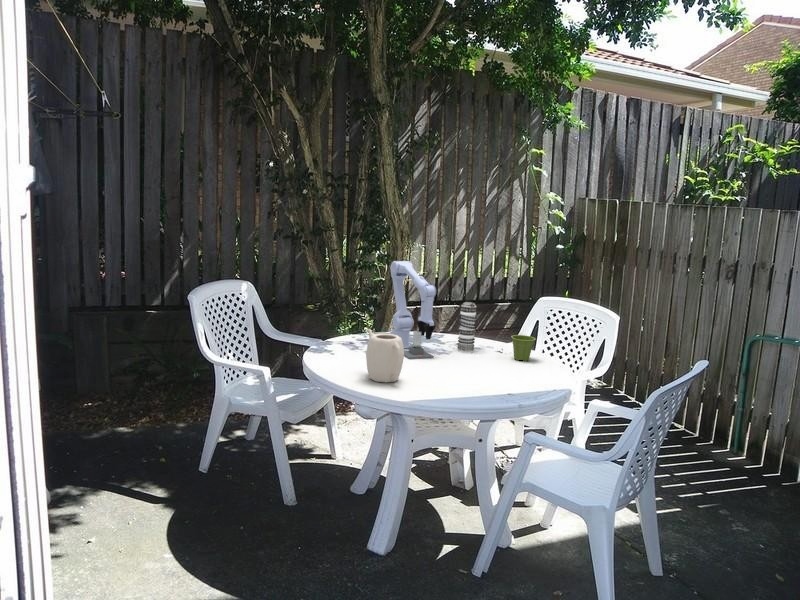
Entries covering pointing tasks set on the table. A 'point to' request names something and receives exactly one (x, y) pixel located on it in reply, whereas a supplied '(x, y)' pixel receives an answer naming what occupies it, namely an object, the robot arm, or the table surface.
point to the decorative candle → (467, 327)
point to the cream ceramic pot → (384, 357)
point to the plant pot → (522, 346)
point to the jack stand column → (417, 338)
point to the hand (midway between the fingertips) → (425, 337)
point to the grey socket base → (417, 353)
